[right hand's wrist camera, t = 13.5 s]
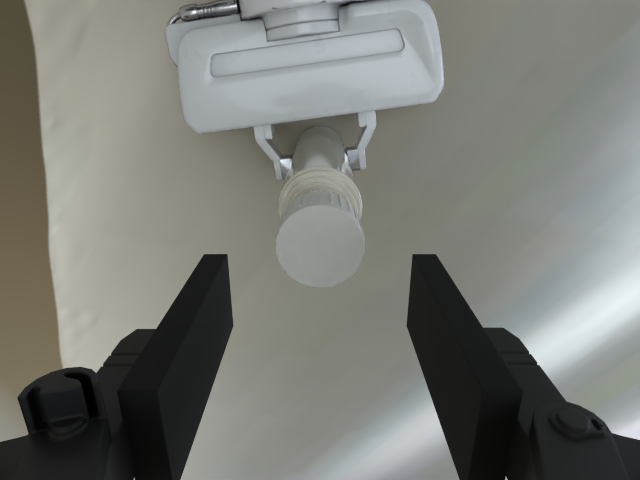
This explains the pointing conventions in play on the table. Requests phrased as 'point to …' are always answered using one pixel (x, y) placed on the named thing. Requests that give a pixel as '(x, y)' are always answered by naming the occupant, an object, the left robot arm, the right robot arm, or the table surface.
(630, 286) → the table surface
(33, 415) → the right robot arm
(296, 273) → the cap
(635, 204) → the table surface
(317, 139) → the bottle
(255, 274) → the table surface
